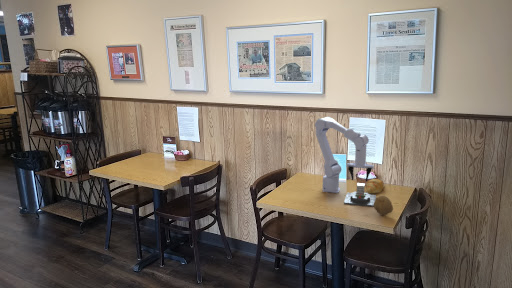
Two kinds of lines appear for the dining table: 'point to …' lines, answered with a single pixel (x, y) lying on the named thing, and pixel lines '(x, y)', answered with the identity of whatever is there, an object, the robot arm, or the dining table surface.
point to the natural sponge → (383, 205)
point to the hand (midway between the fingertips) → (359, 180)
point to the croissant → (374, 186)
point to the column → (360, 189)
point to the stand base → (360, 199)
